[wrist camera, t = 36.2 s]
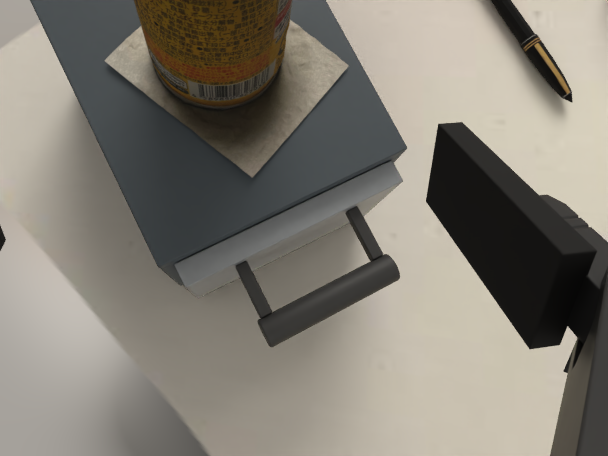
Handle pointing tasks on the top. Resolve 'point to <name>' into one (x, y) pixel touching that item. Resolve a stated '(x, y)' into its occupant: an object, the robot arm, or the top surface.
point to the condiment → (228, 71)
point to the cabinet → (201, 155)
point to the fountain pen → (534, 48)
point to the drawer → (290, 236)
